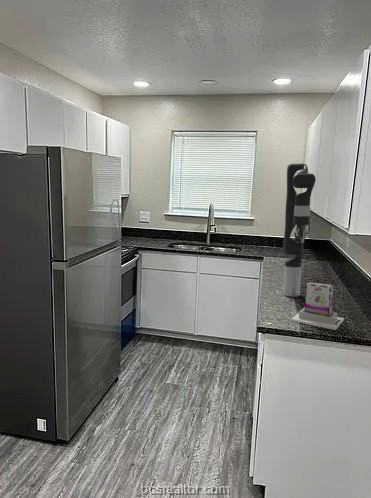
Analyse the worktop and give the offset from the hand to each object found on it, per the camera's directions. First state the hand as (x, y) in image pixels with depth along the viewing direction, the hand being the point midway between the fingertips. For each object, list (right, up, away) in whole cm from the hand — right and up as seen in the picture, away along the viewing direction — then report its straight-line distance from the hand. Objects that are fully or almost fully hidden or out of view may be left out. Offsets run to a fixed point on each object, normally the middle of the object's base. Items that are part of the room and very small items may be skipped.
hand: (299, 250), depth 184 cm
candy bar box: (+5, -32, -10) cm, 34 cm away
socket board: (+5, -33, -10) cm, 35 cm away
